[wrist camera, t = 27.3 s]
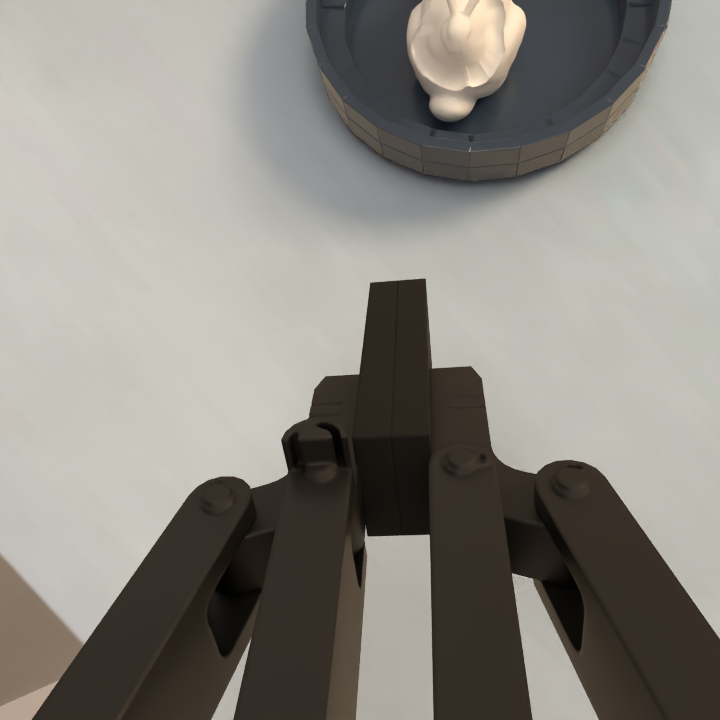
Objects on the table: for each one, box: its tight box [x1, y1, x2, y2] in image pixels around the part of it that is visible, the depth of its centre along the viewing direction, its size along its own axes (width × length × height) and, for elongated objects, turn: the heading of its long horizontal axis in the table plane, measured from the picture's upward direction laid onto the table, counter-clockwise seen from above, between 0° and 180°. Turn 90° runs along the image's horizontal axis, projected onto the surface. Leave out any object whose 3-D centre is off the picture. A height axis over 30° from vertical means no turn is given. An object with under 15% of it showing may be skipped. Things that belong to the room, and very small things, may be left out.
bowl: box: [306, 0, 672, 181], centre depth 38 cm, size 19×19×4 cm
